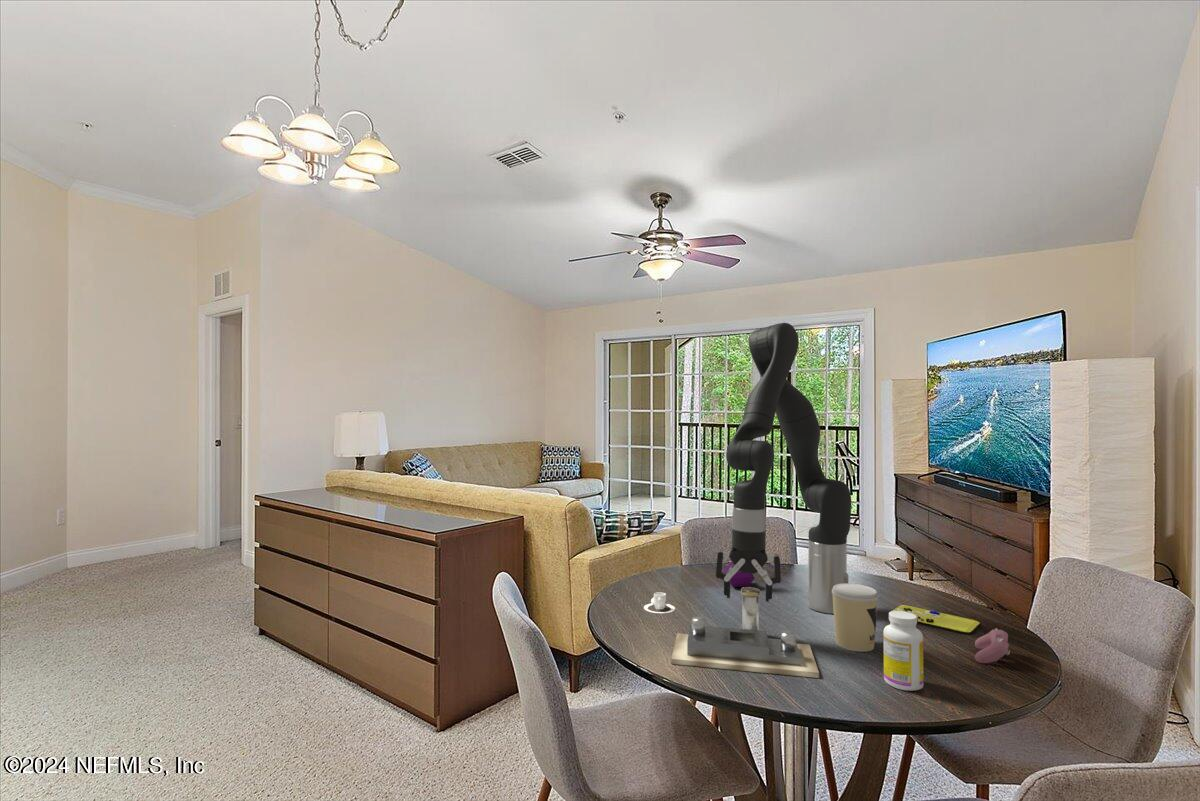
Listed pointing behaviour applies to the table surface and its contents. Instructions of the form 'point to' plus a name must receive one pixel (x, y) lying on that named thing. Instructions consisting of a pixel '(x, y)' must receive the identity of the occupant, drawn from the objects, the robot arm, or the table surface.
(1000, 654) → the video game controller
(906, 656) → the supplement bottle
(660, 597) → the teacup and saucer
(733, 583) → the perfume bottle
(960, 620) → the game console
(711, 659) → the birch board
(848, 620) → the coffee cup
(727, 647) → the knobbed grey block
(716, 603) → the table surface
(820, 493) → the robot arm
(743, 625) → the pin
